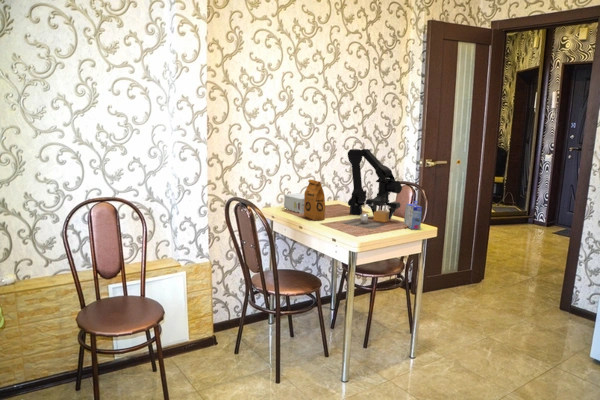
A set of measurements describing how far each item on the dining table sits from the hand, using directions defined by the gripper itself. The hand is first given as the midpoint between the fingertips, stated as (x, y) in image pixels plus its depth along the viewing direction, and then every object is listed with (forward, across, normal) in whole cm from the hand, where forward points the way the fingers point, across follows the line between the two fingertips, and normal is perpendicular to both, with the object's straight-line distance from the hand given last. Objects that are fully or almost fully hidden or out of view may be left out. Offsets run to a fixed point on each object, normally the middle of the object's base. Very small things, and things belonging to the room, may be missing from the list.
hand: (382, 218), depth 250 cm
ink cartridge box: (+2, +18, 0) cm, 18 cm away
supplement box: (+2, -54, -5) cm, 54 cm away
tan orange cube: (+2, 0, 0) cm, 2 cm away
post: (+1, -3, -15) cm, 15 cm away
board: (+2, -3, -15) cm, 15 cm away
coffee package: (+2, -33, -19) cm, 38 cm away
